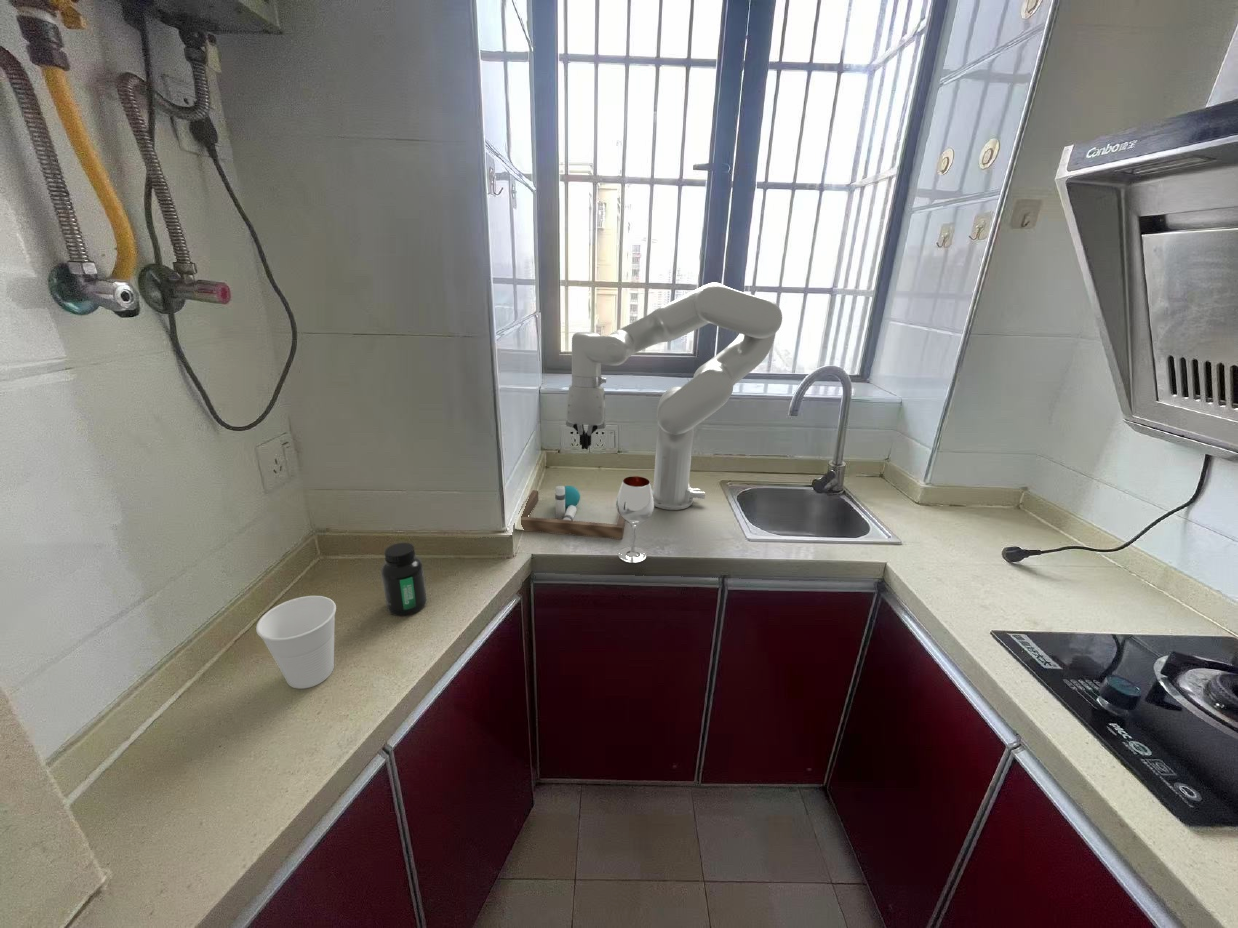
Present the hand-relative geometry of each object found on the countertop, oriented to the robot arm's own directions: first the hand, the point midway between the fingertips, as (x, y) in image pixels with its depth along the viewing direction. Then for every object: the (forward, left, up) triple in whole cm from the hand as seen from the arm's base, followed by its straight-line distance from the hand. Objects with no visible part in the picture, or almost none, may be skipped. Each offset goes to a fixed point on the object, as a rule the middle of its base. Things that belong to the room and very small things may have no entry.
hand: (585, 447), depth 137 cm
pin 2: (+1, +13, -12) cm, 18 cm away
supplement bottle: (+24, +55, -14) cm, 62 cm away
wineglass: (-16, +31, -14) cm, 37 cm away
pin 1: (+4, +17, -13) cm, 22 cm away
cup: (+30, +73, -14) cm, 80 cm away
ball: (+3, +10, -10) cm, 15 cm away
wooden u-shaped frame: (0, +15, -13) cm, 20 cm away
